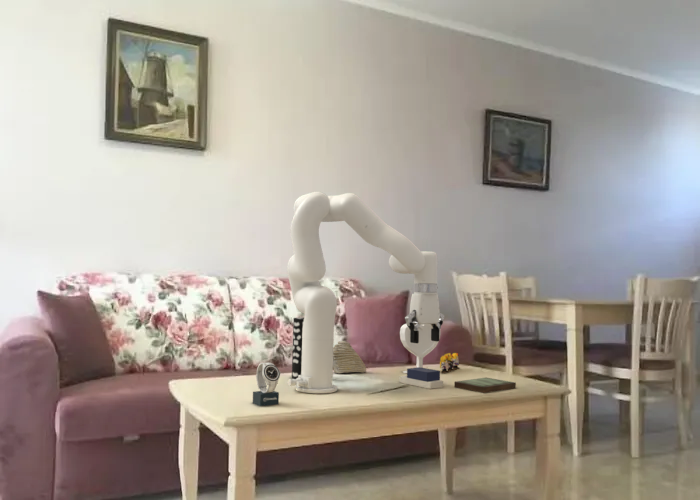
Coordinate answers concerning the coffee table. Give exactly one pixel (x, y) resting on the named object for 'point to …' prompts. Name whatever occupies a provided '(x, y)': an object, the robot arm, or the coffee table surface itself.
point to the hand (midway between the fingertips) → (424, 342)
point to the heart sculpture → (424, 341)
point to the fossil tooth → (346, 359)
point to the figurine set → (449, 362)
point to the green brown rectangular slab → (485, 385)
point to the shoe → (422, 378)
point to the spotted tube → (297, 347)
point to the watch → (271, 377)
